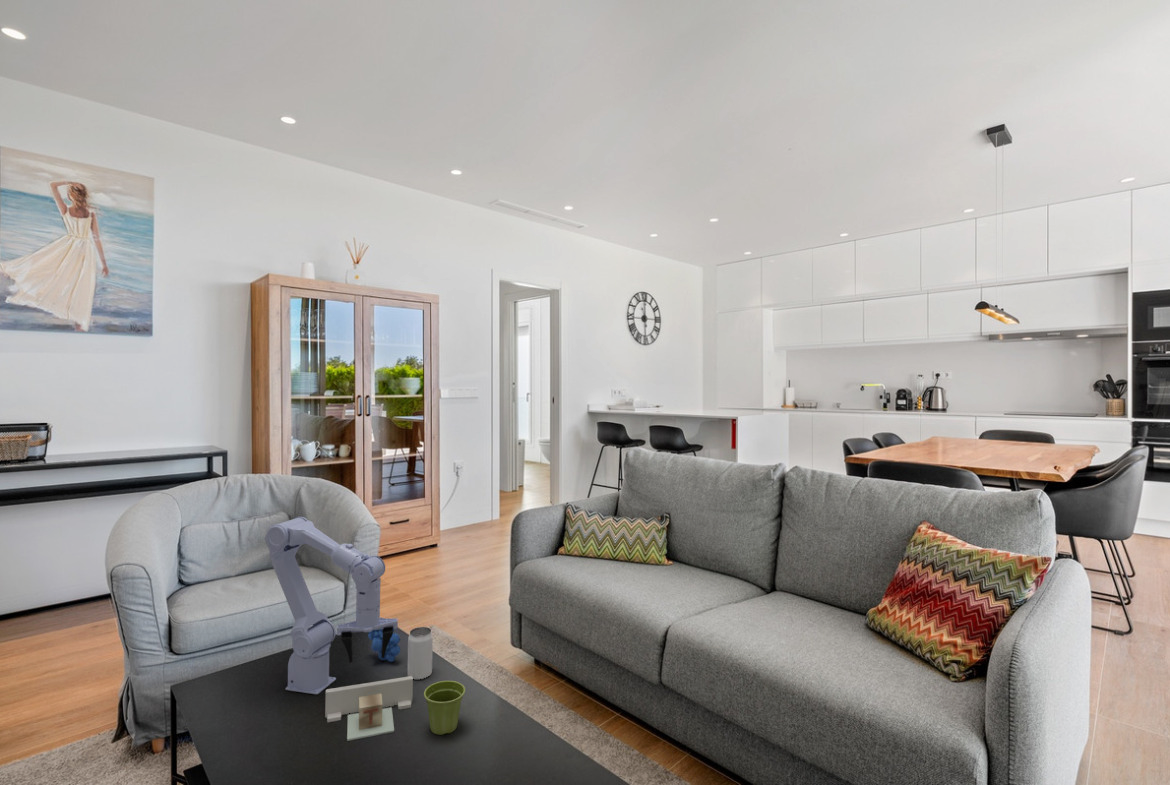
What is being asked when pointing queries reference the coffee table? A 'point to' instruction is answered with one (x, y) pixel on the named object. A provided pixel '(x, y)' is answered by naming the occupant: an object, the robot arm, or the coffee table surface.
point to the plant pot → (444, 705)
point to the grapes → (391, 648)
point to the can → (420, 653)
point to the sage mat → (355, 733)
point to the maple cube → (370, 711)
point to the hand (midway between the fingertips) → (367, 658)
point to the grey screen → (348, 696)
